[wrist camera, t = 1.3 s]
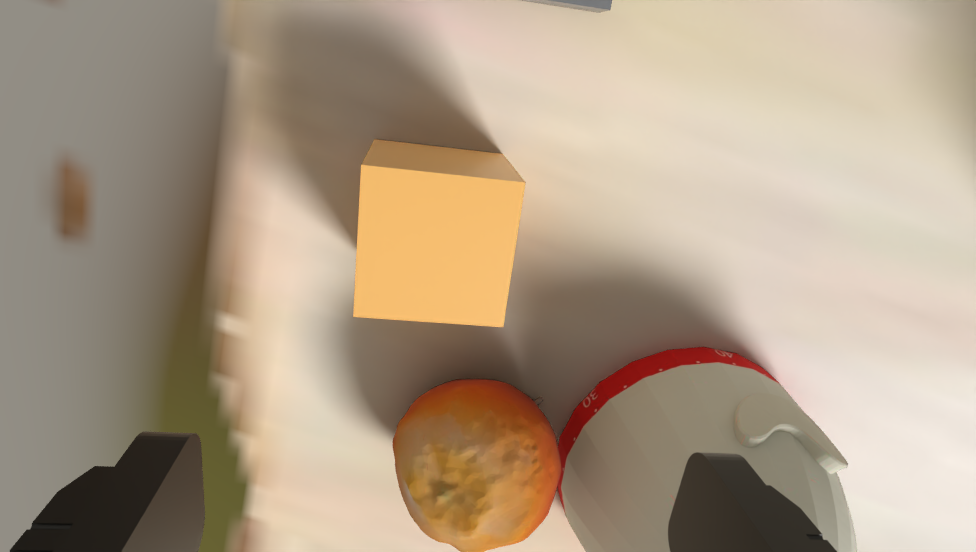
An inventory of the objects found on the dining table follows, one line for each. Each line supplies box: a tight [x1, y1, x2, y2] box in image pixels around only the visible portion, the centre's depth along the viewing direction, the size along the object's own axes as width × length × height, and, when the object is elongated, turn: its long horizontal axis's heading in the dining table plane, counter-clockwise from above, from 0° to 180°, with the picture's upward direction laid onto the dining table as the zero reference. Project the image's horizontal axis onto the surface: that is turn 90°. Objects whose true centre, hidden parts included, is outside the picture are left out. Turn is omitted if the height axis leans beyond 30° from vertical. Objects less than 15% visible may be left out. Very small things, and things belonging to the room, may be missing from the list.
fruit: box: [393, 379, 561, 552], centre depth 28 cm, size 8×8×8 cm
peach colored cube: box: [353, 139, 526, 327], centre depth 23 cm, size 6×6×6 cm
